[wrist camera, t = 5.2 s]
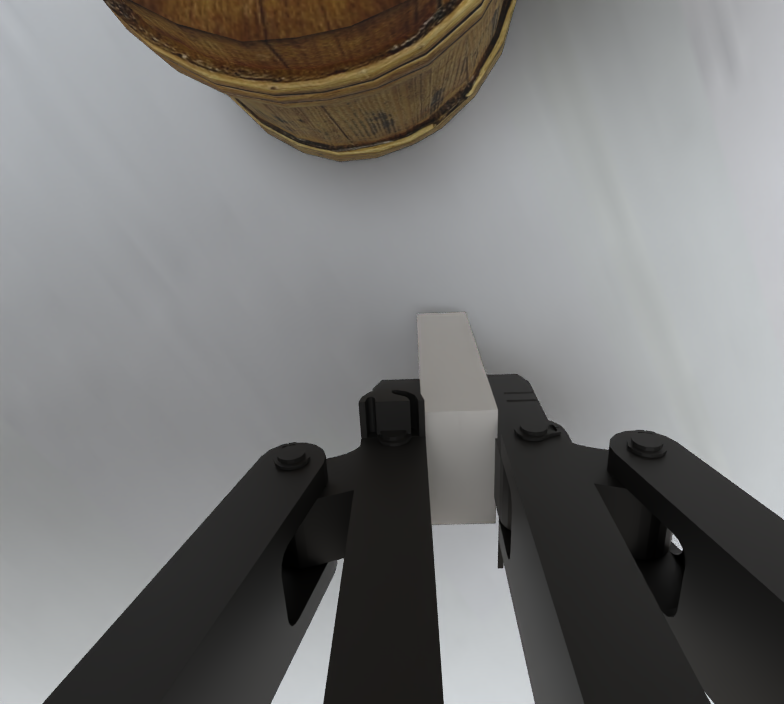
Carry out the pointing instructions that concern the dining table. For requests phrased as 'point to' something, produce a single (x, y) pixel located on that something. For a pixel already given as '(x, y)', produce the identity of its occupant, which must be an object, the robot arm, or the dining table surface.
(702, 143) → the dining table surface
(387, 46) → the wooden mug
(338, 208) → the dining table surface
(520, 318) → the dining table surface
